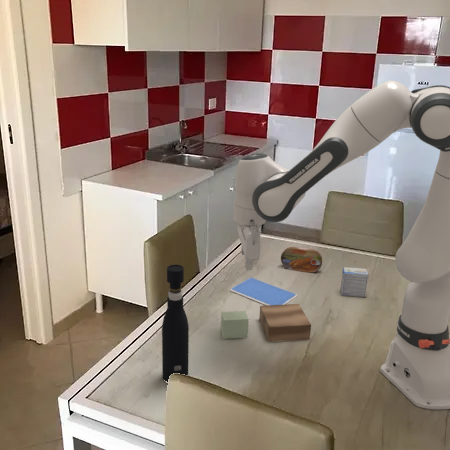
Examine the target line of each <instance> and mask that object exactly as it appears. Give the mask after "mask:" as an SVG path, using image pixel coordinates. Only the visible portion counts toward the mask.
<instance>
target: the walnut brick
mask: <svg viewBox="0 0 450 450" xmlns="http://www.w3.org/2000/svg"><path fill="white" fill-rule="evenodd" d="M258 320H259V322H260V324H261V327H262V329H263V332H264V333H265V336H266V339H267V340H268V342H283V341H284V342H285V341H299V340H311V329H312V323H311V322H310V320H309V318H308V317H307V315H306V313H305V312H304V310H303V308H302V306H301V305H300V303H288V304H285V305H259V319H258Z"/></svg>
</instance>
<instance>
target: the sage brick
mask: <svg viewBox="0 0 450 450" xmlns="http://www.w3.org/2000/svg"><path fill="white" fill-rule="evenodd" d="M220 315H221V317H220V332H221V336H222V339H223V340H224V339H225V340H226V339H239V338H240V339H243V338H248V335H249V334H248V333H249V320H250V318H249V317H248V314H247V311H246V310H241V311H240V310H239V311H236V310H235V311H221V314H220Z"/></svg>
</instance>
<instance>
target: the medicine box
mask: <svg viewBox="0 0 450 450" xmlns="http://www.w3.org/2000/svg"><path fill="white" fill-rule="evenodd" d="M368 281H369V273H368V270H367V268H360V267H347V266H346V267H342V274H341V281H340V294H341V296H346V297H359V298H361V297H362V298H366V297H367V296H366V295H367V287H368V283H369V282H368Z"/></svg>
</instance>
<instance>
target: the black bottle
mask: <svg viewBox="0 0 450 450" xmlns="http://www.w3.org/2000/svg"><path fill="white" fill-rule="evenodd" d="M184 273H185V271H184V266H182V265H181V264H171V265H168V266H167V267H166V281H167V283H169V290H168V295H167V298H166V299H167V305H166V307H167V308H166V310H165V312H164V316H163V320H162V325H161V348H162V349H161V351H162V352H161V355H162V367H161V368H162V370H161V371H162V380H163V381H164V380H165V381H167V382H168V379H169V376H170V375H171V374H173V373H180V374H185V375H188V376H189V344H190V343H189V341H190V340H189V339H190V338H189V332H190V330H189V329H190V327H189V321H188V317H187V314H186V311H185V308H184V297H183V290H182V286H181V284H182V283H184V282H185V281H184V279H185V278H184V277H185V276H184ZM165 381H164V382H165Z"/></svg>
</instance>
